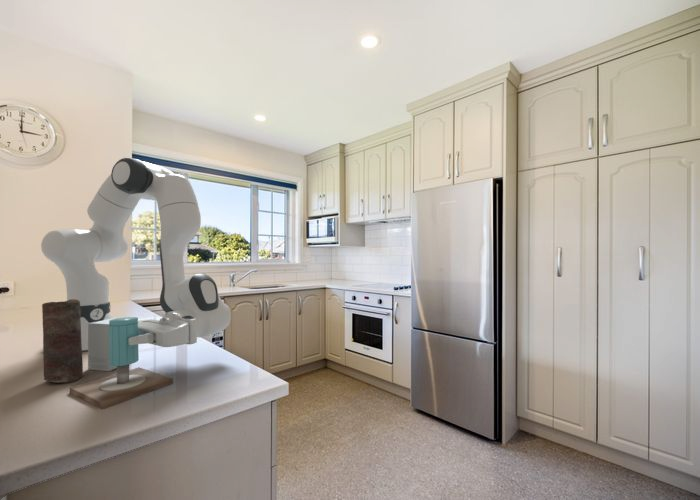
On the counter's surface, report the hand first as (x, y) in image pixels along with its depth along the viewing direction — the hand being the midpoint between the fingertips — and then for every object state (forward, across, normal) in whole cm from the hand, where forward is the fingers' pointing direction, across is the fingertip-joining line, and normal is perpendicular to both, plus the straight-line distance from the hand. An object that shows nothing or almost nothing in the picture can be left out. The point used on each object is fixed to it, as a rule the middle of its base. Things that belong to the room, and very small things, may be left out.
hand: (119, 339), depth 78 cm
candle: (+4, -18, +12) cm, 22 cm away
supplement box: (-7, -19, +12) cm, 24 cm away
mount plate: (-1, 0, +12) cm, 12 cm away
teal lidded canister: (-1, 0, +6) cm, 6 cm away
